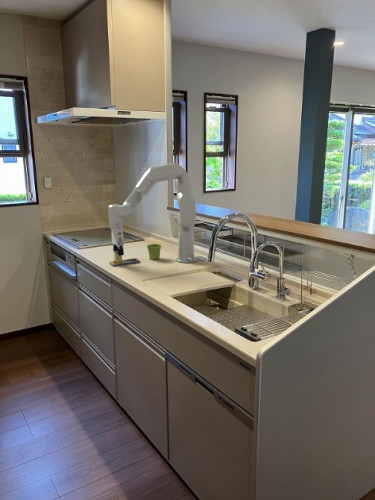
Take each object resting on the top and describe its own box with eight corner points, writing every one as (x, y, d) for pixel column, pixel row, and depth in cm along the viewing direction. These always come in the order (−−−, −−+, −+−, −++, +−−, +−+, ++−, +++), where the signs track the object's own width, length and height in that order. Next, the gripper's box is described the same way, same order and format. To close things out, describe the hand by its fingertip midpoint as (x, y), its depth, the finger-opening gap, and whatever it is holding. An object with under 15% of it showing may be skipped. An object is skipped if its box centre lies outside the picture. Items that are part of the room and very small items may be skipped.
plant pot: (144, 260, 251) (143, 246, 249) (151, 256, 260) (150, 243, 258) (158, 261, 248) (157, 247, 246) (164, 257, 256) (164, 244, 254)
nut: (122, 264, 243) (121, 251, 241) (115, 265, 241) (115, 252, 239) (120, 262, 246) (119, 250, 244) (114, 263, 244) (113, 251, 242)
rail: (136, 259, 252) (136, 257, 252) (140, 262, 246) (139, 260, 246) (109, 263, 245) (109, 261, 244) (112, 266, 239) (112, 264, 238)
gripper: (127, 227, 232) (129, 255, 236) (117, 222, 247) (120, 249, 251) (114, 228, 229) (116, 257, 233) (105, 224, 244) (108, 251, 248)
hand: (118, 253), depth 242 cm, fingers open, 9 cm apart
